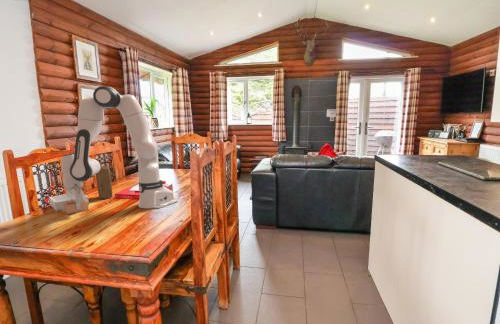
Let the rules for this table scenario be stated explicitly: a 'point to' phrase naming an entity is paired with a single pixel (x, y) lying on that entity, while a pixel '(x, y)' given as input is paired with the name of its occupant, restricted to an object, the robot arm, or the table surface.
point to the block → (104, 183)
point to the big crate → (62, 201)
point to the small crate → (71, 207)
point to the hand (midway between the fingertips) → (76, 207)
